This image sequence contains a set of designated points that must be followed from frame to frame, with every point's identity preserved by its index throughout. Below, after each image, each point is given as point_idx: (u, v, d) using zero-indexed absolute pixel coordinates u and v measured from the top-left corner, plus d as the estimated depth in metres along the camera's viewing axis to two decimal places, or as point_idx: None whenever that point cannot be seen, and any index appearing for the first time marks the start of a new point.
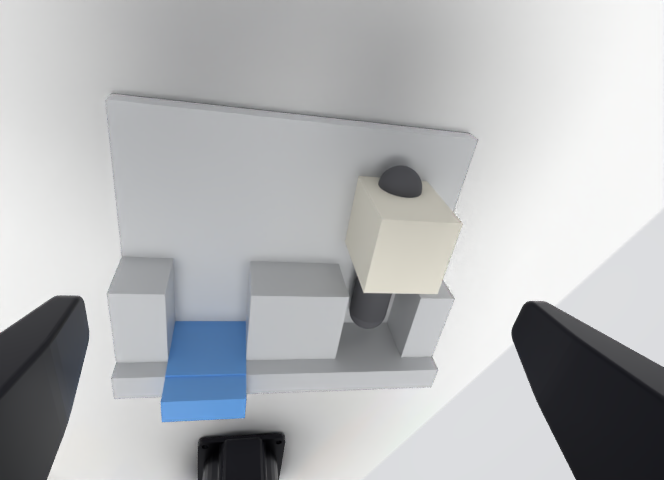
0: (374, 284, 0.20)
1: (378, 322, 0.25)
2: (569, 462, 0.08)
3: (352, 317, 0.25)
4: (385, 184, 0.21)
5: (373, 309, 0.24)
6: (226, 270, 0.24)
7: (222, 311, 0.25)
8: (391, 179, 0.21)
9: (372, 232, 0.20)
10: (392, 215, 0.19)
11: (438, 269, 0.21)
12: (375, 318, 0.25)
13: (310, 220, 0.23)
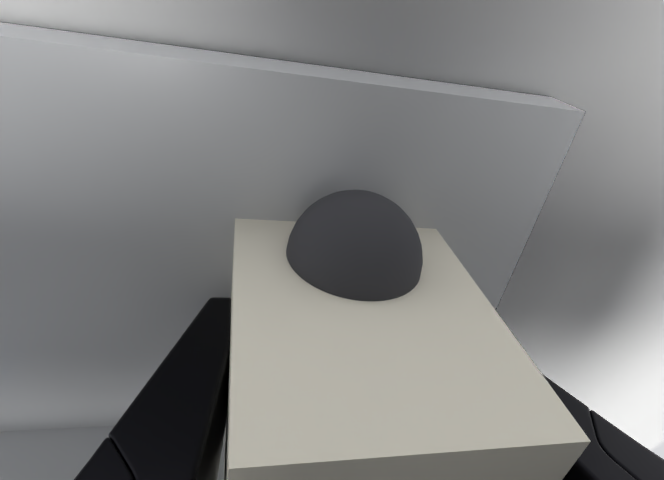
0: None
1: None
2: None
3: None
4: (300, 253, 0.06)
5: None
6: None
7: None
8: (319, 239, 0.06)
9: (226, 466, 0.05)
10: (293, 426, 0.04)
11: None
12: None
13: (117, 336, 0.08)
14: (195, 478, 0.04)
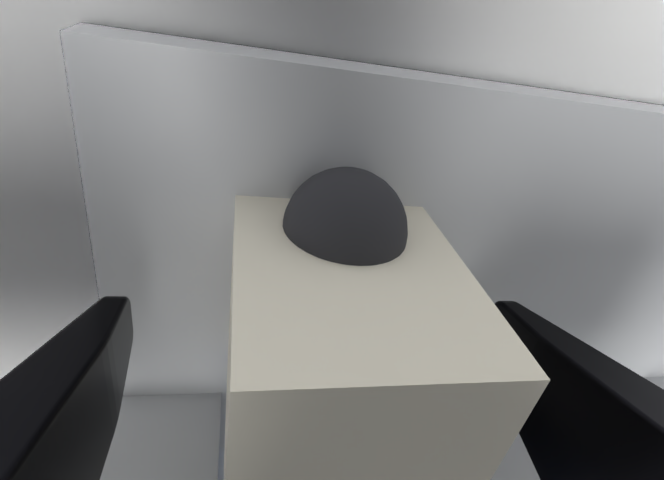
0: None
1: None
2: (535, 465, 0.08)
3: None
4: (295, 223, 0.07)
5: None
6: None
7: None
8: (312, 210, 0.07)
9: None
10: (286, 362, 0.05)
11: None
12: None
13: None
14: None
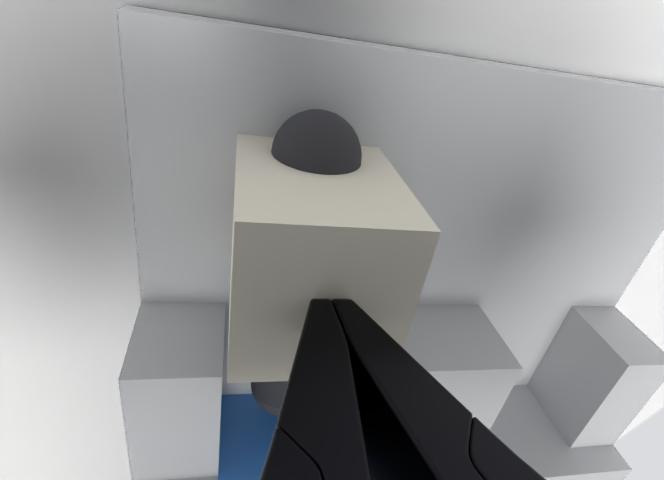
0: (247, 365, 0.09)
1: None
2: None
3: None
4: (279, 145, 0.10)
5: (284, 388, 0.13)
6: None
7: None
8: (291, 135, 0.10)
9: None
10: (269, 212, 0.08)
11: (391, 331, 0.09)
12: None
13: (450, 239, 0.14)
14: (369, 464, 0.05)
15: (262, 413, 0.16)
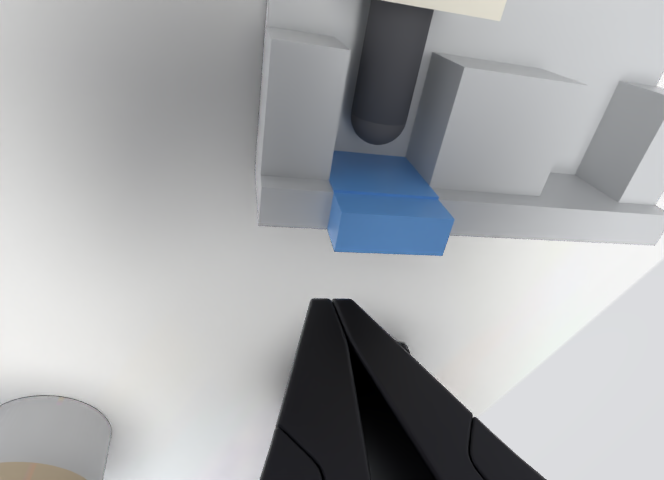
0: None
1: (395, 126, 0.16)
2: None
3: (355, 122, 0.17)
4: None
5: (388, 98, 0.16)
6: None
7: None
8: None
9: None
10: None
11: None
12: (391, 117, 0.16)
13: None
14: (369, 464, 0.05)
15: (354, 159, 0.18)
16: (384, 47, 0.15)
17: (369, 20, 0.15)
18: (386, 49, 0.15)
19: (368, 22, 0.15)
